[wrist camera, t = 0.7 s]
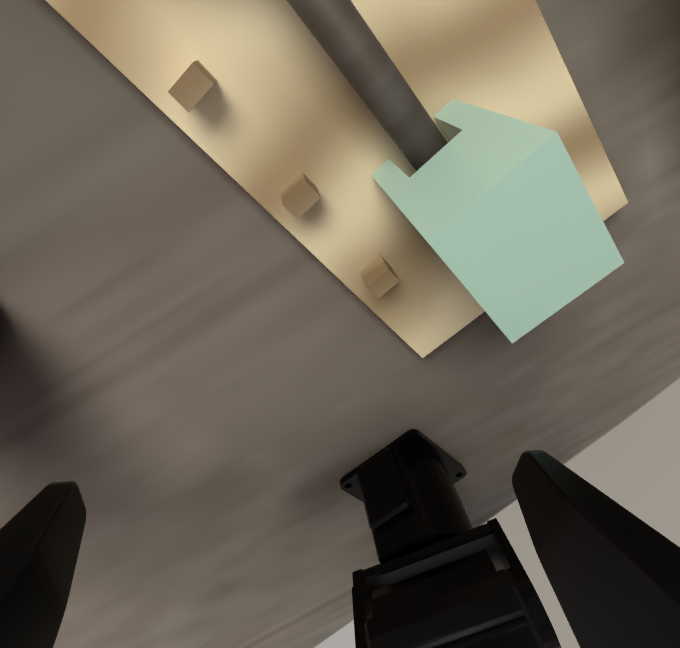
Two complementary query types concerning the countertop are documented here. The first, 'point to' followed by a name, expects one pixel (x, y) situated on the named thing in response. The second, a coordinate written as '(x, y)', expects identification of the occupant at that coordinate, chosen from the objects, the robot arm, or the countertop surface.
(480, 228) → the sleeve
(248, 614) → the countertop surface
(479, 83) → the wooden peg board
